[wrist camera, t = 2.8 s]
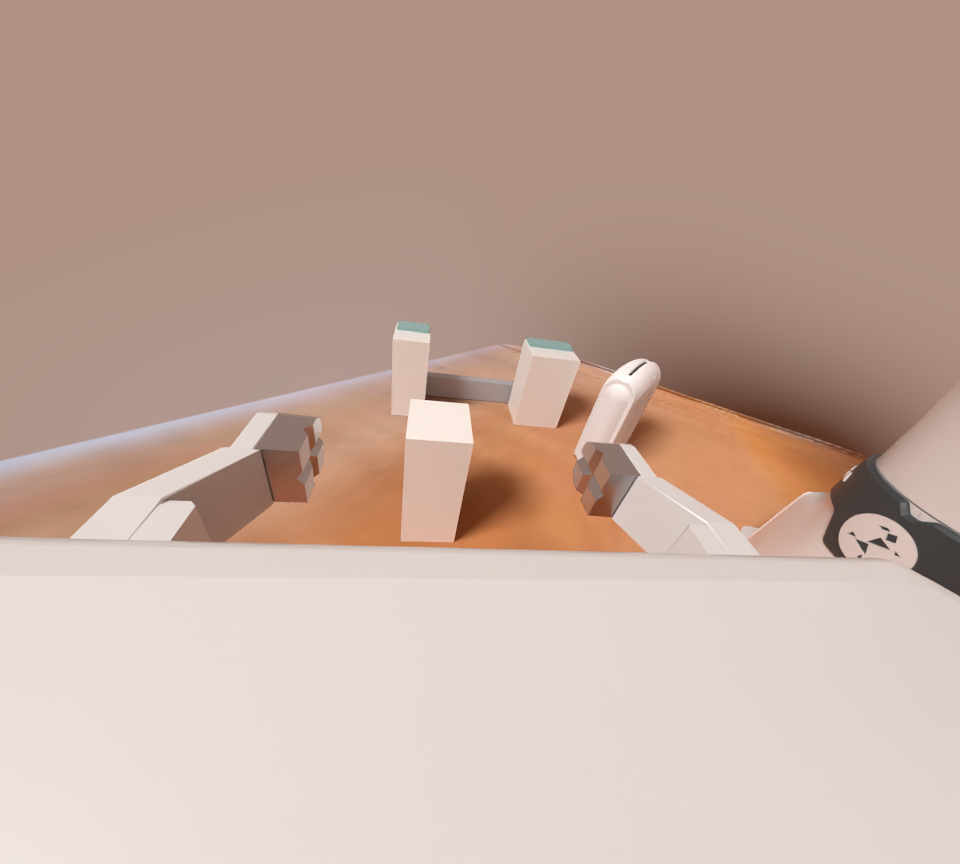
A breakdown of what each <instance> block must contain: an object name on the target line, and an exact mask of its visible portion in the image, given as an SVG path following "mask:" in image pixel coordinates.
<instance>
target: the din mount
mask: <svg viewBox="0 0 960 864" xmlns="http://www.w3.org/2000/svg"><path fill="white" fill-rule="evenodd" d="M430 329H431V328H430V327H429V324H422V323H414V322H407V321H399V322H398V323H397V325H396V329H395V333H394V336H393V350H392V408H391V415H401V416H409V408H410V400H411V399H419V400H425V395H428V396H439V397H449V398H460V399H471V400H481V401H492V402H503V403H508V407H509V410H510V413H511V417H512V420H513V423H514V425H522V426H534V427H546V428H556V427H557V424H558V422H559V419H560V416H561V414H562V411H563V408H564V405H565V403H566V400H567V397H568V395H569V392H570V389H571V386H572V384H573V381H574V378H575V376H576V373H577V370H578V368H579V365H580V362H581V361H580V360H579V359H578V357H577V356H576V355H575V353H574V352H573V351H572V350H573V348H572V347H571V346H570V344H569V343H568V342H560V341H553V340H545V339H537V338H529V337H527V339H525V340H524V343H523V347H522V351H521V355H520V359H519V363H518V367H517V371H516V375H515V379H514V381H506V380H496V379H487V378H477V377H468V376H458V375H449V374H440V373H430V372H427V370H428V358H429V346H430Z"/></svg>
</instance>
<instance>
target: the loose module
mask: <svg viewBox="0 0 960 864" xmlns="http://www.w3.org/2000/svg"><path fill="white" fill-rule="evenodd" d="M472 449H473V436H472V428H471V420H470V413H469V405H468V404H463V403H452V402H441V401H430V400H419V399H411V400H410V408H409V416H408V424H407V432H406V442H405V462H404V483H403V503H402V524H401V541H419V542H454V539H455V534H456V529H457V524H458V519H459V514H460V509H461V504H462V499H463V494H464V489H465V484H466V479H467V474H468V469H469V464H470V459H471V454H472Z"/></svg>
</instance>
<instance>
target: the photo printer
mask: <svg viewBox="0 0 960 864" xmlns="http://www.w3.org/2000/svg"><path fill="white" fill-rule="evenodd" d="M660 374H661V373H660V369H659V367H658V365H657V364H656V363H654V362H649V361H648V360H646V359H637V360H633V361H631V362H629V363H627V364H625V365H623V366H622V367H621V368H619V369H618V370H617V371H615V372H614V373H613V374H612V375H611V376H610V377H609V378H608V379H607V381H606V382H605V384H604V385H603V387H602V389H601V391H600V394H599V396H598V398H597V401H596V403H595V405H594V407H593V410H592V412H591V414H590V417H589V419H588V421H587V424H586V426H585V428H584V430H583V433H582V435H581V437H580V440H579V442H578V444H577V447H576V449H575V453H574V455H576V458H577V460H579V459H581V458H582V457H583V455H582V452H581V451H582V448H583V446H584V445H585V444H586V443H587V442H600V443H612V444H616V443H618V444H626V443H627V442H628V440H629V438H630V436H631V434H632V432H633V430H634V429H635V427H636V425H637V423H638V421H639V419H640V417H641V416H642V414H643V412H644V410H645V408H646V406H647V404H648V402H649V401H650V399H651V397H652V395H653V393H654V391H655V390H656V388H657V386H658V384H659V381H660V377H661V375H660Z"/></svg>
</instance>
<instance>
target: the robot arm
mask: <svg viewBox="0 0 960 864" xmlns="http://www.w3.org/2000/svg"><path fill="white" fill-rule="evenodd" d="M321 431H322V426H321V420H320V419H319V417H311V416H302V415H293V414H283V413H281V414H280V413H273V412H262V411H261V412H258V413H256V415H255V416H254V417H253V418H252V420H251V421H250V422H249V424H248V425H247V426H246V427H245V429H244V430H243V431H242V433H241V434H240V435H239V436H238V438H237V439H236V440H235V441H234V443H233V444H232V445H231V447H230V448H229V447H223V448H220V449H218V450H216V451H214V452H211V453H209V454H207V455H205V456H202V457H200V458H198V459H196V460H193V461H191V462H189V463H187V464H184V465H182V466H180V467H178V468H175V469H173V470H171V471H169V472H166V473H164V474H162V475H160V476H157V477H155V478H153V479H151V480H148V481H146V482H144V483H141V484H139V485H137V486H135V487H132V488H130V489H128V490H126V491H123V492H121V493H119V494H117V495H114V496H113V497H112V498H110V499H109V500H108V501H107V502H106V503H105V504H104V505H103V506H102V507H101V508H100V509H99V510H98V511H97V512H96V513H95V514H94V515H93V516H92V517H91V518H90V519H89V520H88V521H87V522H86V523H85V524H84V525H83V526H82V527H81V528H80V529H79V530H78V531H77V532H76V533H75V534H74V535H73V536H71V537H70V538H35V537H0V864H960V379H959V380H958V381H957V382H956V383H955V384H954V385H953V386H952V387H951V388H950V389H949V390H948V392H947V393H946V394H945V395H944V396H943V397H942V398H941V399H940V400H939V401H938V402H937V403H936V404H935V405H934V406H933V407H932V408H931V409H930V410H929V411H928V412H927V413H926V414H925V415H924V416H923V417H922V418H921V419H920V420H919V421H918V422H917V423H916V424H915V425H914V426H913V427H912V428H911V429H910V430H909V431H908V432H907V433H906V434H905V435H903V436H902V437H901V438H900V439H899V440H898V441H897V442H895V443H894V444H893V445H892V446H891V447H890V448H889V449H888V450H887V451H885V452H884V453H883V454H876V455H871V456H869V457H868V458H866V459H865V460H864V461H863V462H862V463H860V464H859V465H857V466H854V467H853V468H852V469H850V470H849V471H848V472H847V473H846V474H845V475H844V478H843V479H842V480H841V481H839V482H838V483H837V484H836V485H835V486H834V487H833V488H832V489H831V492H830V493H826V492H806V493H804V494H802V495H801V496H799V497H798V498H797V499H795V500H794V501H793V502H792V503H790V504H789V505H788V506H786V507H785V508H784V509H783V510H781V511H780V512H779V513H778V514H776V515H775V516H774V517H773V518H771V519H770V520H769V521H768V522H766V523H765V524H764V525H763V526H761V527H760V528H756V527H750V526H743V527H742V528H740V529H738V528H737V527H736V526H735V525H734V524H733V523H731V522H730V521H728V520H727V519H725V518H723V517H722V516H720V515H719V514H717V513H716V512H714V511H712V510H711V509H709V508H708V507H706V506H705V505H703V504H702V503H700V502H698V501H697V500H695V499H694V498H692V497H691V496H689V495H687V494H686V493H684V492H683V491H681V490H680V489H678V488H676V487H675V486H673V485H672V484H670V483H669V482H667V481H665V480H664V479H662V478H657V477H656V475H655V474H654V473H653V471H652V470H651V468H650V467H649V466H648V464H647V463H646V462H645V460H644V459H643V458H642V456H641V455H640V453H639V452H638V451H637V449H636V448H635V447H634V446H633V445H631V444H618V443H616V444H612V443H600V442H587V443H586V444H585V445H584V446H583V448H582V451H581V452H582V455H583V457H582V458H581V459H579V460H578V461H576V464H575V466H574V469H573V482H574V485H575V488H576V489H577V490H578V491H579V492H580V493H582V494H583V495H582V497H581V501H582V504H583V506H584V508H585V510H586V513H587V515H589V516H602V517H612V519H613V520H614V521H615V522H616V523H617V524H618V525H619V526H620V527H621V528H622V529H623V530H624V531H625V532H626V533H627V534H628V535H629V536H630V537H631V538H632V539H633V540H634V541H635V542H637V543H638V544H639V545H640V546H641V547H642V548H643V549H644V550H645V551H646V552H647V553H638V552H597V551H559V550H521V549H479V548H438V547H397V546H356V545H316V544H275V543H235V542H225V541H227V540H228V539H229V538H231V537H232V536H233V535H234V534H236V533H237V532H238V531H239V530H241V529H242V528H243V527H244V526H246V525H247V524H248V523H250V522H251V521H252V520H253V519H255V518H256V517H257V516H258V515H260V514H261V513H262V512H263V511H265V510H266V509H267V508H269V507H270V506H271V505H272V504H273V502H303V503H308V500H309V498H310V495H311V493H312V490H313V488H314V486H315V483H314V477H315V476H316V475H318V474H319V473H320V471H321V468H322V464H323V459H324V442H323V441H322V440H321V439H320V438H319V436H320V433H321Z"/></svg>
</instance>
